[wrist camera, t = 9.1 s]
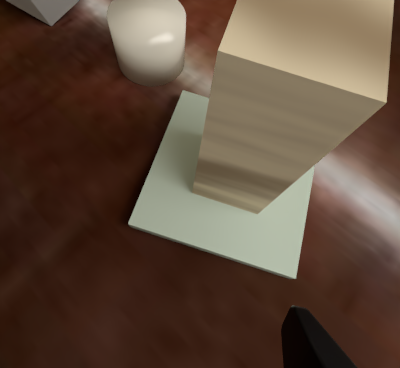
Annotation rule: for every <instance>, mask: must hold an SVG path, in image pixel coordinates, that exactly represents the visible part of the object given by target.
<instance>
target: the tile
mask: <svg viewBox="0 0 400 368" xmlns="http://www.w3.org/2000/svg"><path fill="white" fill-rule="evenodd" d="M208 102H209V98H207V97H204V96H200V95H197V94H194V93H191V92H187V91H184V90H183V91H182V94H181V96H180V98H179V101H178V103H177V106H176V108H175V111H174V113H173V115H172V118H171V120H170V123H169V125H168V128H167V130H166V132H165V135H164V137H163V140H162V142H161V145H160V147H159V149H158V152H157V154H156V157H155V159H154V162H153V164H152V166H151V169H150V171H149V174H148V176H147V179H146V181H145V183H144V186H143V188H142V191H141V193H140V196H139V198H138V200H137V203H136V205H135V208H134V210H133V213H132V215H131V217H130V220H129V222H128V225H129V226H130V227H132V228H135V229H138V230H141V231H144V232H147V233H150V234H153V235H156V236H159V237H162V238H166V239H169V240H172V241H175V242H178V243H181V244H184V245H187V246H190V247H193V248H196V249H199V250H202V251H205V252H208V253H212V254H215V255H218V256H221V257H224V258H227V259H230V260H233V261H236V262H239V263H242V264H245V265H248V266H251V267H254V268H258V269H261V270H264V271H267V272H270V273H273V274H276V275H279V276H282V277H285V278H288V279H296V274H297V268H298V262H299V256H300V251H301V245H302V239H303V233H304V227H305V221H306V215H307V209H308V203H309V197H310V191H311V185H312V179H313V173H314V167H315V165H314V166H313V167H312V168H311V169H309V170H308V171H307V172H306V173H305V174H304V175H302V176H301V177H300V178H299V179H298V180H297V181H295V182H294V183H293V184H292V185H291V186H290V187H289V188H287V189H286V190H285V191H284V192H283V193H282V194H280V195H279V196H278V197H277V198H276V199H275V200H273V201H272V202H271V203H270V204H269V205H268V206H267V207H265V208H264V209H263V210H262V211H261V212H260V213H258V214H255V213H252V212H249V211H246V210H243V209H239V208H236V207H233V206H230V205H227V204H224V203H221V202H218V201H215V200H212V199H209V198H206V197H203V196H200V195H197V194H193V193H192V190H193V184H194V179H195V173H196V168H197V162H198V157H199V151H200V146H201V140H202V135H203V129H204V124H205V119H206V113H207V108H208Z"/></svg>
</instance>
